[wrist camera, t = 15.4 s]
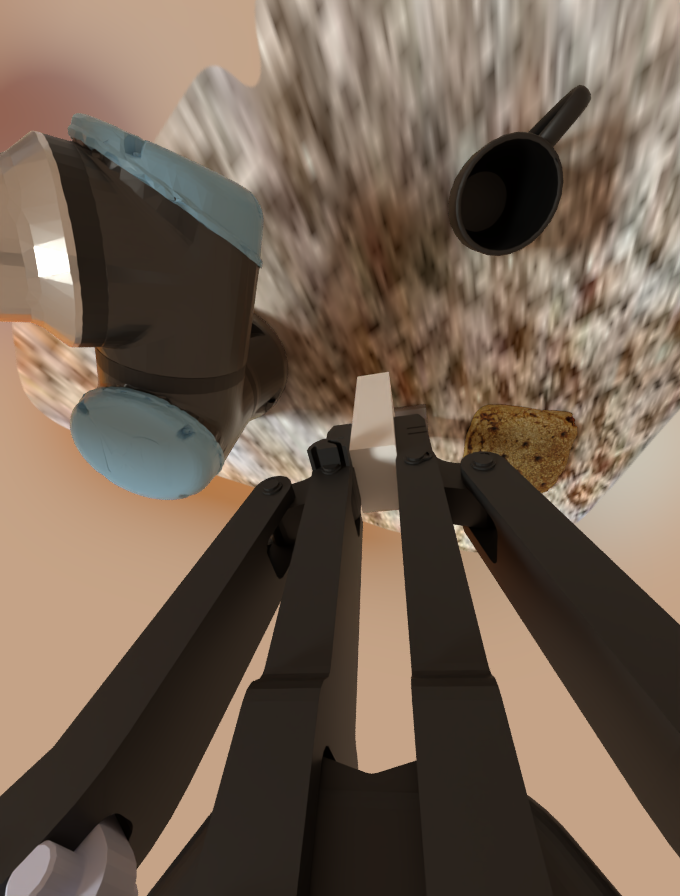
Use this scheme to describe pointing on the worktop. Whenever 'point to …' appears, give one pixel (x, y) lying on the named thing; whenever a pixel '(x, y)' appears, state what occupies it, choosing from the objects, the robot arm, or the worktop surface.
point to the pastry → (525, 440)
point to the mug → (513, 183)
